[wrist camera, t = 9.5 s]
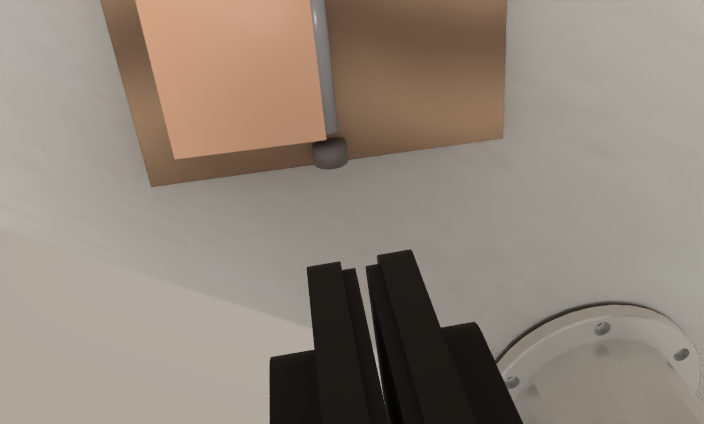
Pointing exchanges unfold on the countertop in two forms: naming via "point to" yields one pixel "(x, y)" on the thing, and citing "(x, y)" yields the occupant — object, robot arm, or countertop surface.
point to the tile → (240, 72)
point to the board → (353, 86)
